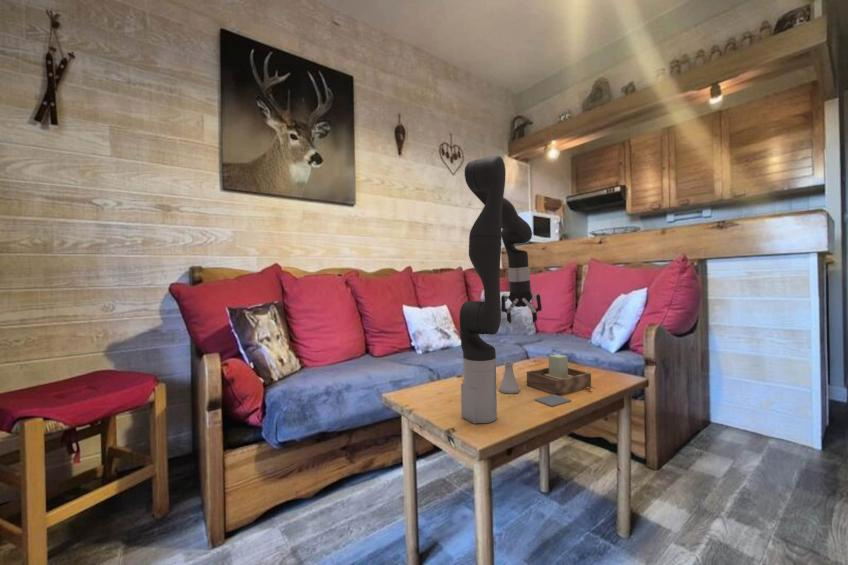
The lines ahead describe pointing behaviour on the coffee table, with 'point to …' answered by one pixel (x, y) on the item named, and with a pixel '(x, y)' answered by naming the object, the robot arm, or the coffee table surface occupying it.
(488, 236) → the robot arm
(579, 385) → the crate
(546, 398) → the pad
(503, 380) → the flask
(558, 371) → the block
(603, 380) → the coffee table surface
